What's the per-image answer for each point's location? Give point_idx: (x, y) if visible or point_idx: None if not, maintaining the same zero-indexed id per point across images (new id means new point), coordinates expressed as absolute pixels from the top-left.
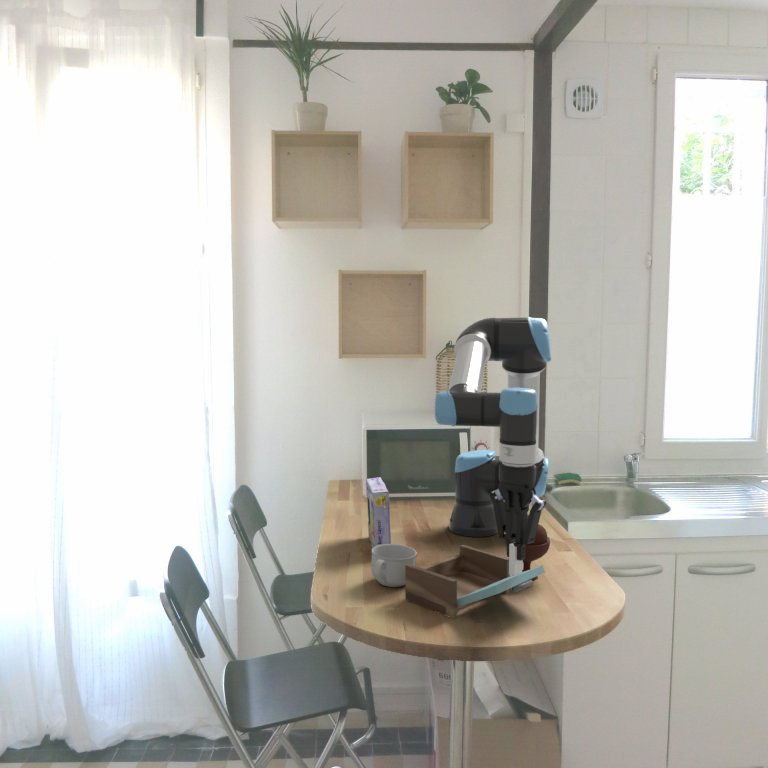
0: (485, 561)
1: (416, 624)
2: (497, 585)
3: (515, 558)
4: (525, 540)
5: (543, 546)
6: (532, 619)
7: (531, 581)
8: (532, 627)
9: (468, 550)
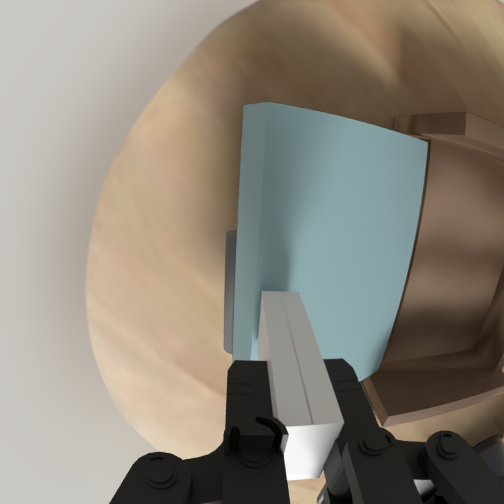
0: (444, 386)
1: (432, 38)
2: (263, 121)
3: (269, 356)
4: (154, 488)
5: (323, 501)
6: (213, 266)
7: (226, 346)
8: (181, 219)
9: (492, 385)
